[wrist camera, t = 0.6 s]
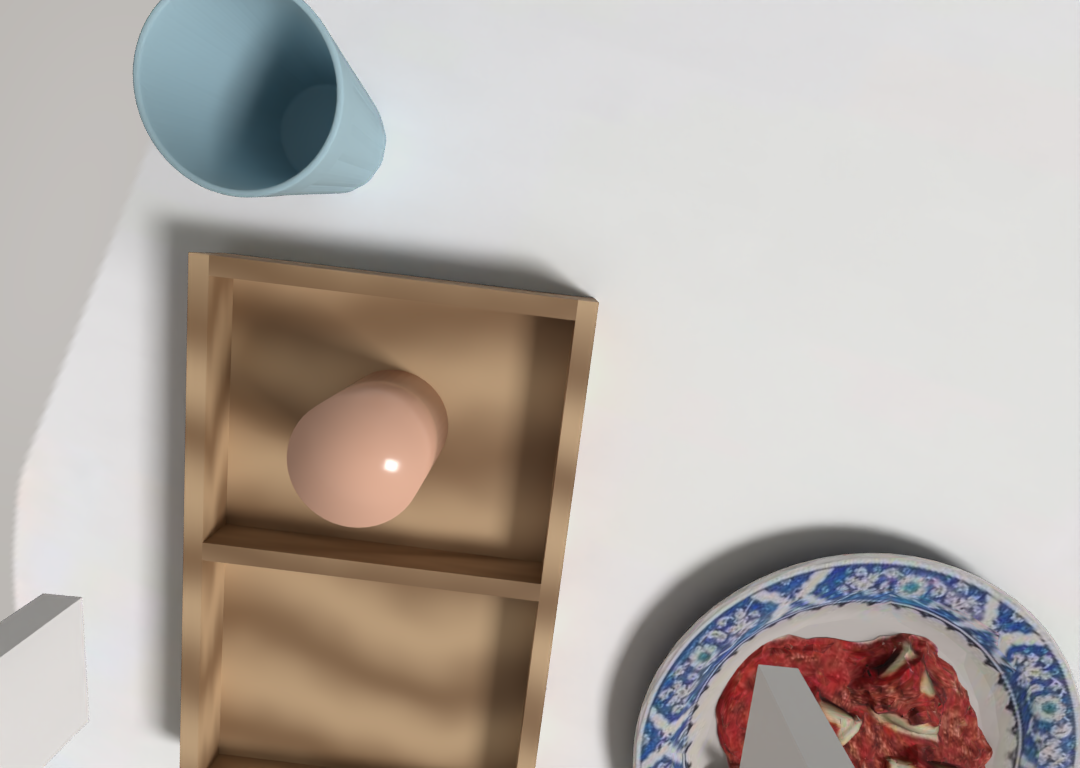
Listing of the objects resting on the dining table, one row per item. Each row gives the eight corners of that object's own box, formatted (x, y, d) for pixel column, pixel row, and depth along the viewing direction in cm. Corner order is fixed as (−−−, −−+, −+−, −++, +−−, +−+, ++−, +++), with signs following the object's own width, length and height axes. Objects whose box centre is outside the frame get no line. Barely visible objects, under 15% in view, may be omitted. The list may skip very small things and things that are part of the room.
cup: (258, 209, 34) (134, 187, 24) (259, 53, 33) (127, -40, 23) (401, 221, 34) (338, 205, 24) (408, 66, 33) (344, -22, 23)
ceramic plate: (1034, 495, 37) (1076, 515, 34) (1073, 871, 41) (1113, 918, 38) (588, 587, 38) (590, 615, 35) (673, 938, 43) (682, 988, 40)
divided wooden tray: (224, 253, 35) (188, 252, 31) (594, 298, 35) (598, 302, 31) (211, 753, 41) (179, 799, 37) (527, 792, 41) (525, 841, 37)
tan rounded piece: (342, 363, 35) (289, 388, 28) (453, 376, 35) (428, 405, 28) (335, 469, 36) (283, 519, 29) (443, 482, 36) (416, 535, 29)
